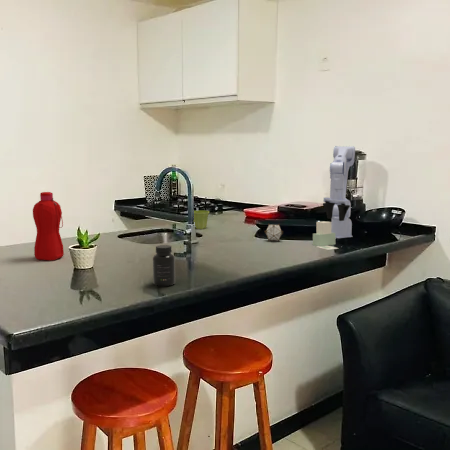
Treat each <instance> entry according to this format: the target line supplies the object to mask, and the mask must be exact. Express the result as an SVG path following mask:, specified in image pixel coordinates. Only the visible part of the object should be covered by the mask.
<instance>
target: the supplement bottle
mask: <svg viewBox="0 0 450 450" xmlns="http://www.w3.org/2000/svg"><path fill="white" fill-rule="evenodd" d="M172 252H173V249H172V245H170V244H159V245H156V246H155V253H156V254H154V256H153V257H152V281H153V282H152V283H153V285H154V284H155V285H154V286H156V285H158V286H157V287H160V286H167V287H170V286H169V285H172V286H173V284H174V285H175V284H176V258H175V255H174V254H172Z"/></svg>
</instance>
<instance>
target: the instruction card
mask: <svg viewBox="0 0 450 450" xmlns="http://www.w3.org/2000/svg"><path fill="white" fill-rule="evenodd" d="M314 246H315V245H314ZM315 248H318V249H319V248H320V249H323V250H327V251H329V250H331V251H332V250H337V249H339V248H338V247H336V246H332V245H326V246H315Z"/></svg>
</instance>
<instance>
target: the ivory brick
mask: <svg viewBox="0 0 450 450" xmlns="http://www.w3.org/2000/svg"><path fill="white" fill-rule="evenodd" d="M315 223H316V226H315V227H316V233H317V234H331V221H316V222H315Z"/></svg>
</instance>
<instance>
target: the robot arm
mask: <svg viewBox="0 0 450 450" xmlns="http://www.w3.org/2000/svg"><path fill="white" fill-rule="evenodd" d="M332 150H333V152H332V153H333V154H332V155H333V161H332V162H331V163H330V164H329V176H330V177H329V179H330V189H329V190H330V191H329V197H323V202H322V205H323V207H324V210H325V213H326V218H327V220H329V219H330V220H331V221H330V222H331V233H335V239H346V238H353V235H352V228H353V227H352V226H353V223H352V220H351V219H350V217H351V212H352V211H351V208H352V207H351V205H352V204H351V200H349V199H347V198H346V195H347V187H348V176H349V170H350V167H352V166H354V163H355V157H356V147H355V146H354V145H351V146H350V145H349V146H347V145H346V146H344V145H343V146H341V145H339V146H338V145H334V147H333V149H332Z"/></svg>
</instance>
